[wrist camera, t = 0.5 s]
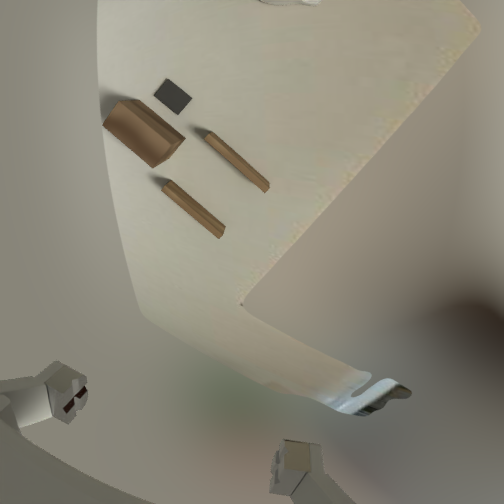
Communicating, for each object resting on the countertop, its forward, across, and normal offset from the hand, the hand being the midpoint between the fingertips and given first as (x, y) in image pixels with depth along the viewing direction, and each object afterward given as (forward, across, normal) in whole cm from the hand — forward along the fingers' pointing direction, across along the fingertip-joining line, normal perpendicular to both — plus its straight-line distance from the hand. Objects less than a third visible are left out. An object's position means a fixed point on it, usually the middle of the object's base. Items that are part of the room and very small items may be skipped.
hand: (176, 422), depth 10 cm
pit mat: (+44, +21, -22) cm, 53 cm away
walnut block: (+45, +24, -15) cm, 53 cm away
